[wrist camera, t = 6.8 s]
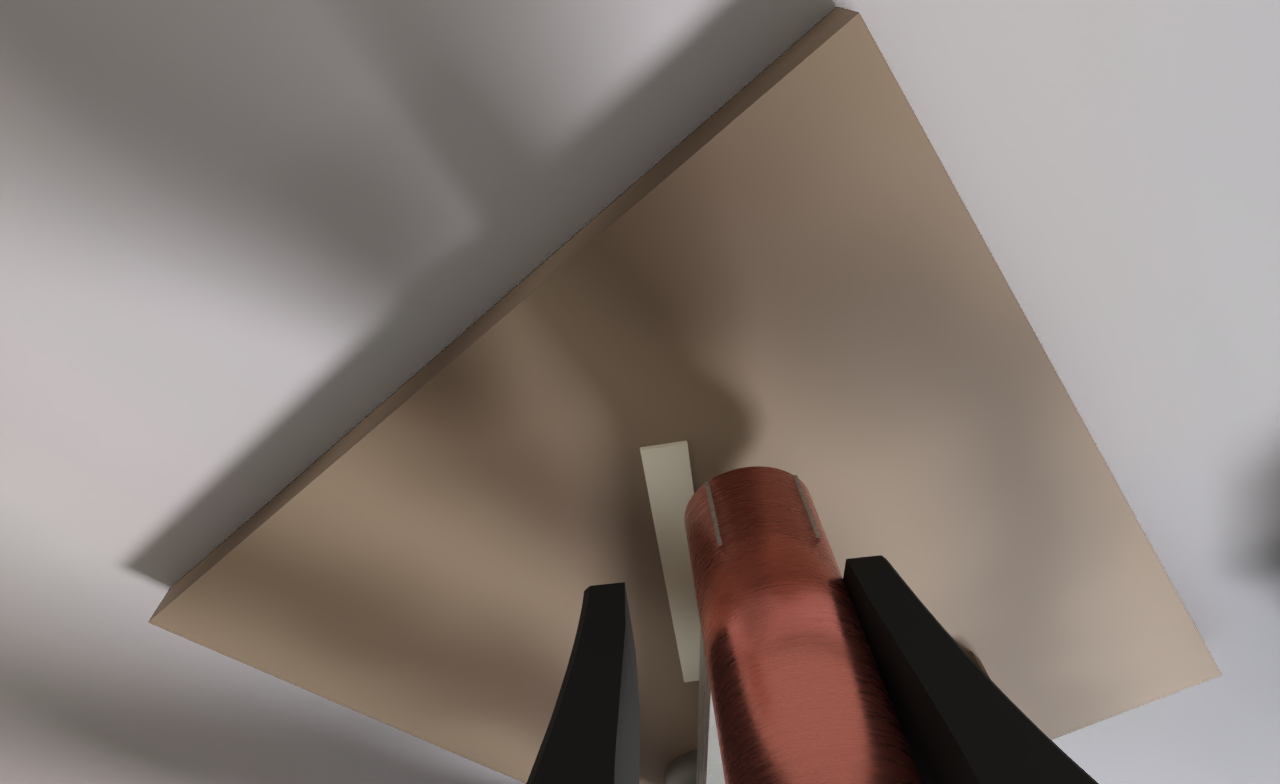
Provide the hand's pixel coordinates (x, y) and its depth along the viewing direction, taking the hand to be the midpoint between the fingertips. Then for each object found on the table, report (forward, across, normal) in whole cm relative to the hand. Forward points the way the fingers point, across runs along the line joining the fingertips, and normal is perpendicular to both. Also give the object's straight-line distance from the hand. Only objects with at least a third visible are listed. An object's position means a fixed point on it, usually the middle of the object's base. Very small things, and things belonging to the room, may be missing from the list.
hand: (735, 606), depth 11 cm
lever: (+2, 0, +7) cm, 8 cm away
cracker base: (+4, -1, +7) cm, 8 cm away
